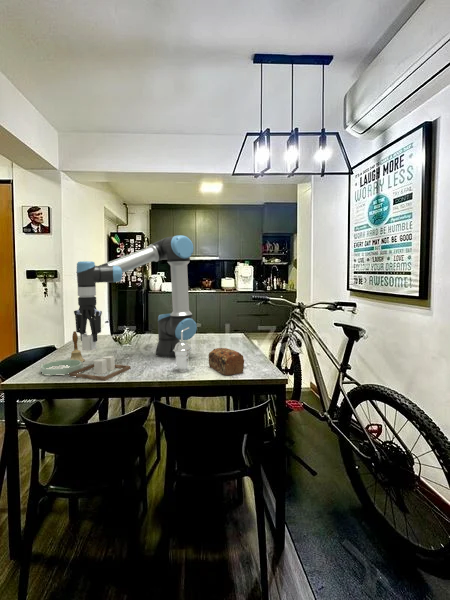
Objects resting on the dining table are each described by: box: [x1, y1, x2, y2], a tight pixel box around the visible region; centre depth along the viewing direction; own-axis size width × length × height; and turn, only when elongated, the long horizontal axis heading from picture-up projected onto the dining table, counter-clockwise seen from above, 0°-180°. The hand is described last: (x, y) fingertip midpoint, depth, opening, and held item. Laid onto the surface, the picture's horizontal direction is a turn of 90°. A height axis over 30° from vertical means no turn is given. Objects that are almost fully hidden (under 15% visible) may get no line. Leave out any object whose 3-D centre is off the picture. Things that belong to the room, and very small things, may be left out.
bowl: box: [39, 359, 84, 375], centre depth 170 cm, size 18×18×3 cm
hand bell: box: [69, 330, 86, 363], centre depth 187 cm, size 8×8×16 cm
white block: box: [93, 358, 108, 375], centre depth 166 cm, size 4×4×6 cm
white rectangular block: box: [81, 334, 95, 352], centre depth 160 cm, size 4×4×6 cm
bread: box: [208, 347, 245, 376], centre depth 168 cm, size 19×11×10 cm, turn 25°
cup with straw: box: [173, 327, 192, 373], centre depth 168 cm, size 8×9×20 cm
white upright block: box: [102, 355, 116, 371], centre depth 172 cm, size 4×4×6 cm
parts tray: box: [68, 363, 131, 381], centre depth 166 cm, size 20×19×2 cm
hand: (89, 348), depth 160 cm, fingers closed on white rectangular block, 4 cm apart
